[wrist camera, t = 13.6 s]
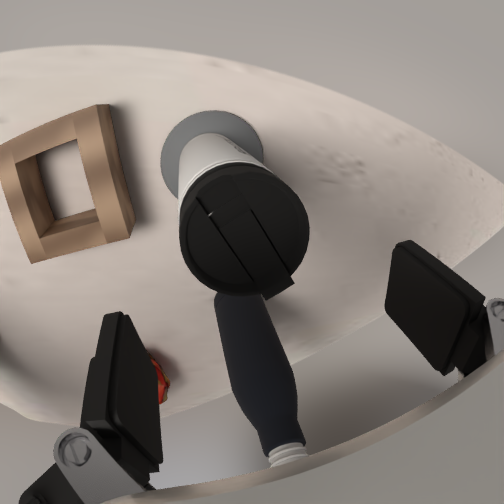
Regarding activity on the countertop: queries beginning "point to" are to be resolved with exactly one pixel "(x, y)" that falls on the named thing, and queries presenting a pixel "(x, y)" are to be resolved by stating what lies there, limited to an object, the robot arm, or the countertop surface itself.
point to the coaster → (201, 124)
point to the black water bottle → (260, 375)
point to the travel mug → (237, 220)
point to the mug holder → (98, 176)
